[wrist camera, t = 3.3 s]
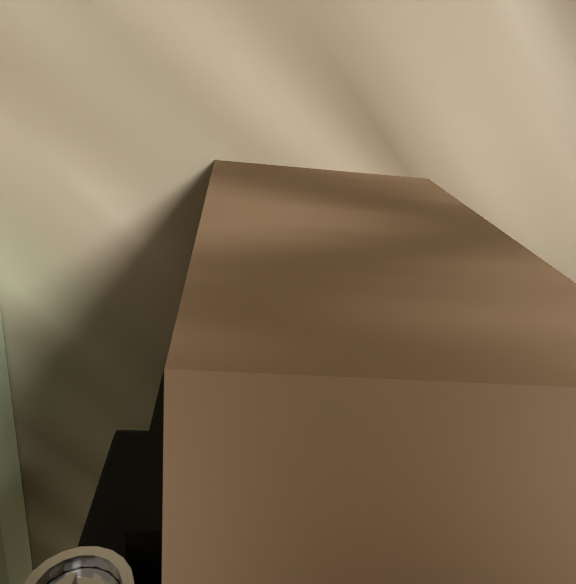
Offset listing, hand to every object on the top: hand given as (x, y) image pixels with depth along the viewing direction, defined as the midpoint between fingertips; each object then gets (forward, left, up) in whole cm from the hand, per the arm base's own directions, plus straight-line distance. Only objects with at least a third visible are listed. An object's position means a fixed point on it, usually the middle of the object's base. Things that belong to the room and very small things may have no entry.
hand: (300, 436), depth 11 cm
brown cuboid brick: (0, 0, -1) cm, 1 cm away
